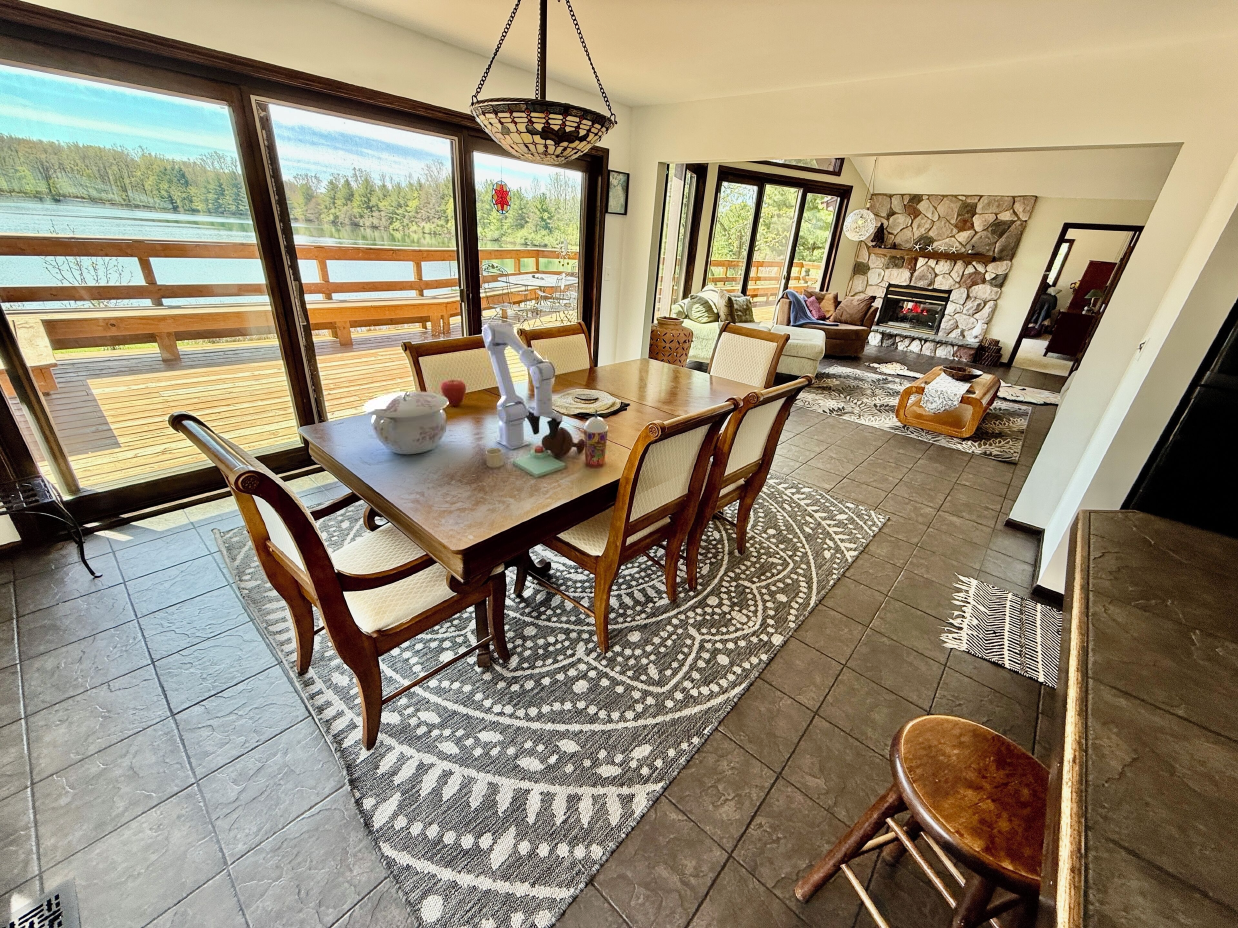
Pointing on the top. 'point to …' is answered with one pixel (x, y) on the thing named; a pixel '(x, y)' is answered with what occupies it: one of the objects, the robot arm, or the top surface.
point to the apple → (453, 391)
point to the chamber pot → (408, 420)
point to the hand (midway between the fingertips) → (544, 436)
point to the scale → (538, 463)
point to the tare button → (539, 449)
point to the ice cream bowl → (562, 443)
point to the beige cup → (494, 457)
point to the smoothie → (595, 441)
